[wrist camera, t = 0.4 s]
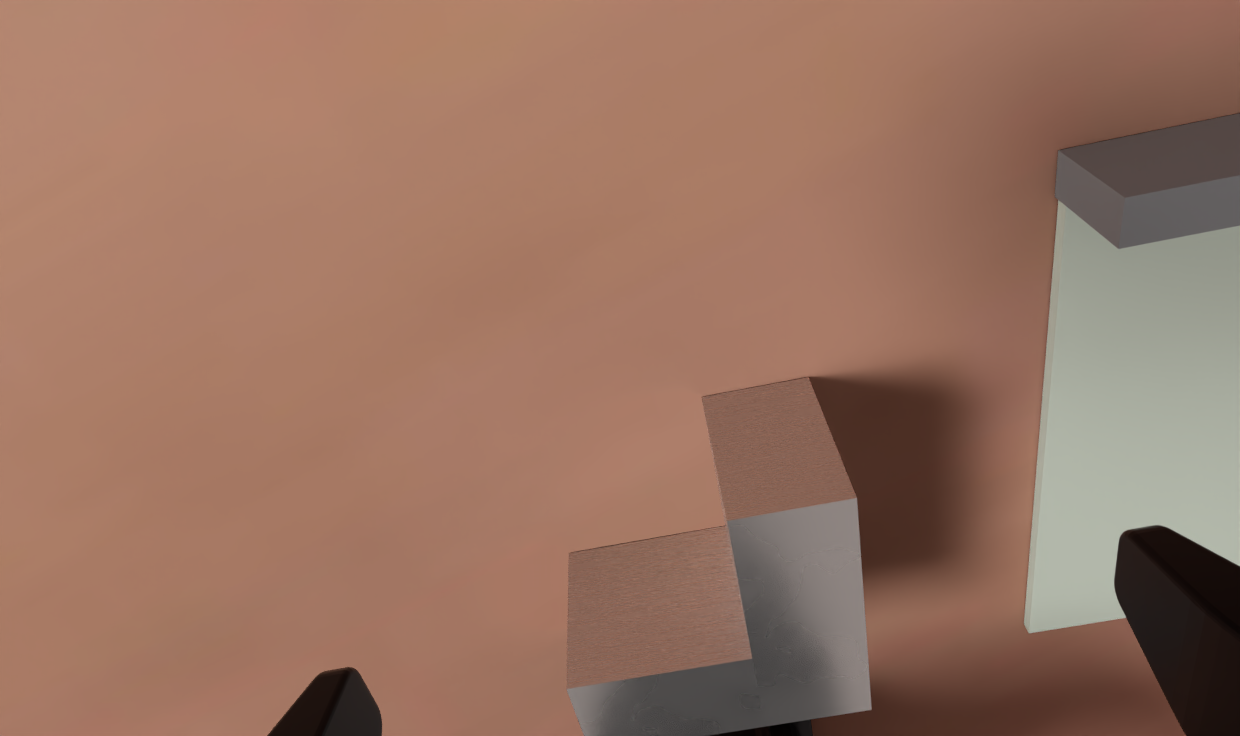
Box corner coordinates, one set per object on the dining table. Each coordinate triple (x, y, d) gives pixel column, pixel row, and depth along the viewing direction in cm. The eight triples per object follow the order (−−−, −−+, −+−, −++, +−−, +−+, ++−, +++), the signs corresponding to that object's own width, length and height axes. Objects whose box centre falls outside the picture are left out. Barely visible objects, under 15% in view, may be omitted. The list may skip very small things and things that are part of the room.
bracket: (828, 576, 28) (871, 710, 24) (589, 616, 29) (590, 754, 25) (808, 377, 24) (857, 498, 20) (527, 429, 24) (517, 557, 20)
